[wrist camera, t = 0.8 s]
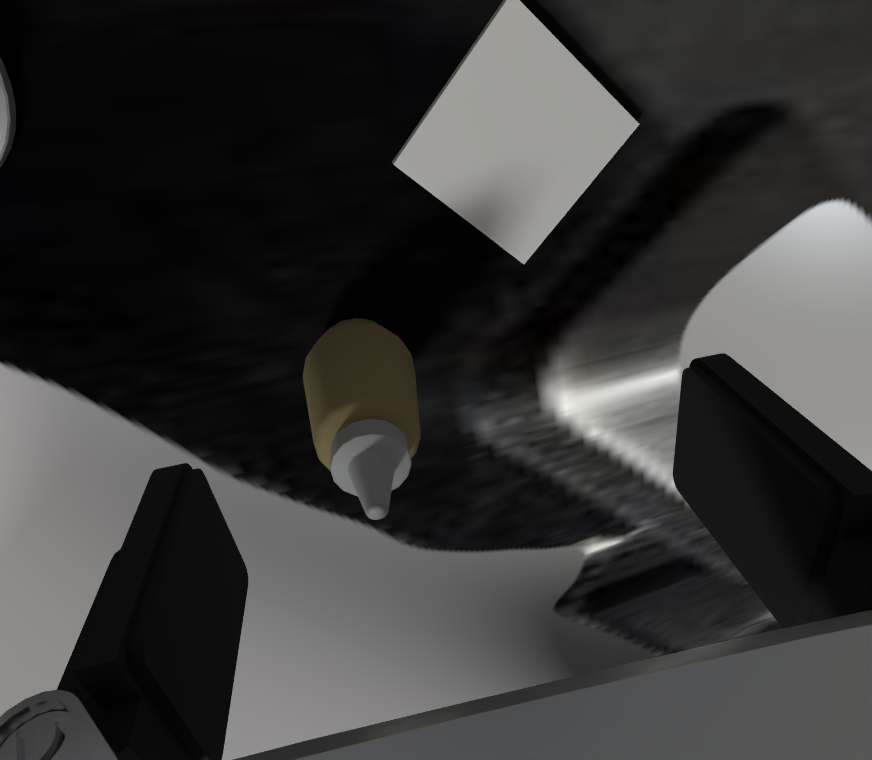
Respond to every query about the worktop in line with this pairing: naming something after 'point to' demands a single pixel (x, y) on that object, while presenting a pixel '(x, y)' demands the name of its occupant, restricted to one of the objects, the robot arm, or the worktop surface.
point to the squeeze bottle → (363, 409)
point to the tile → (515, 133)
